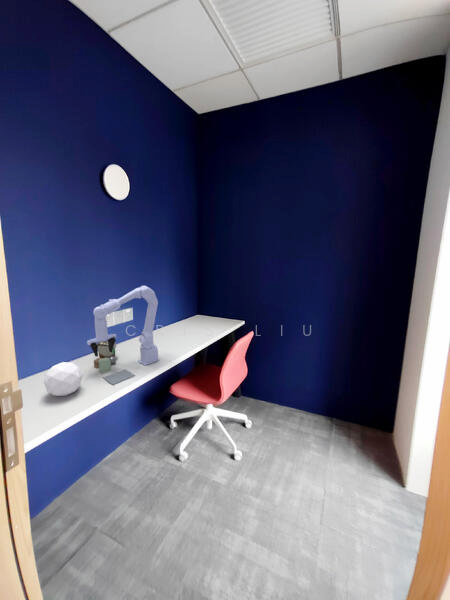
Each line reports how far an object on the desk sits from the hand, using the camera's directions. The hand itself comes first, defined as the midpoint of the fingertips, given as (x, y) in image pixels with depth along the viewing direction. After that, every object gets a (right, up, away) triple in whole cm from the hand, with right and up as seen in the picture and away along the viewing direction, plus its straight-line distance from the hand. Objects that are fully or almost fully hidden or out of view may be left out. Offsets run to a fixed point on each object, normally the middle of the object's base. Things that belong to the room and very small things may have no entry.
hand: (103, 353), depth 135 cm
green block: (0, -9, +2) cm, 10 cm away
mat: (+11, -11, -5) cm, 16 cm away
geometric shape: (-8, -14, -20) cm, 25 cm away
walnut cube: (-5, -8, +6) cm, 12 cm away
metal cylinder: (0, -8, +9) cm, 12 cm away
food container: (-4, -6, +17) cm, 19 cm away
